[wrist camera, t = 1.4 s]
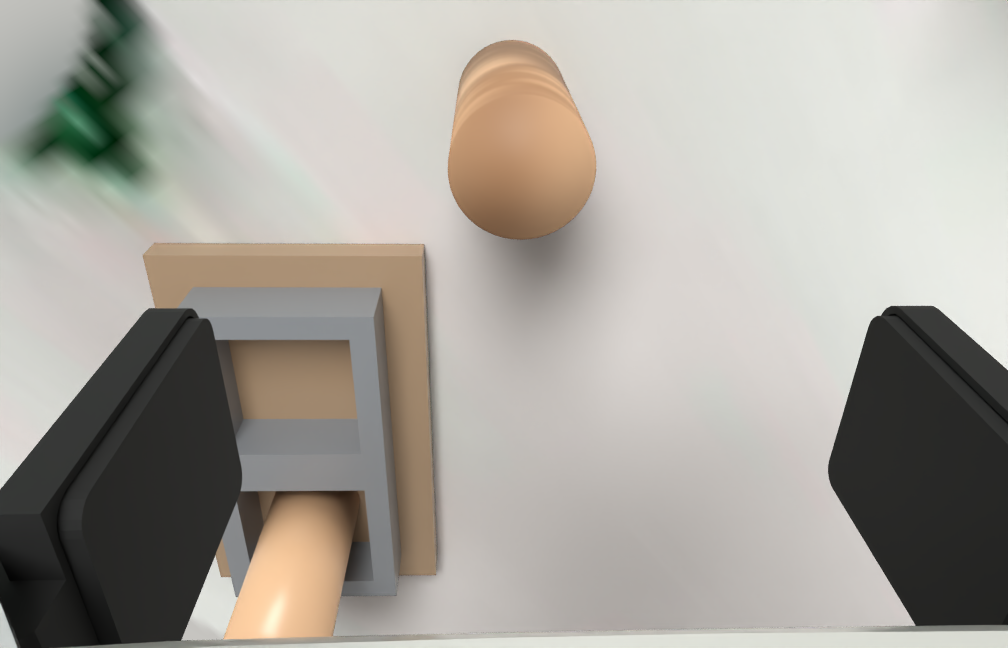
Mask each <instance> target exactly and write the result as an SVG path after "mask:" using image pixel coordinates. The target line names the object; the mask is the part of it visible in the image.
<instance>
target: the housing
mask: <svg viewBox="0 0 1008 648" xmlns="http://www.w3.org/2000/svg"><path fill="white" fill-rule="evenodd" d="M143 259H144V263H145V267H146V271H147V275H148V280H149V284H150V288H151V292H152V296H153V300H154V304H155V308H192V309H193V310H195V311H196V313H197V315H198V317H199V318H207V319H208V320H209V321H210V322H211V324H212V328H213V332H214V336H215V341H216V346H217V351H218V356H219V361H220V365H221V370H222V375H223V380H224V385H225V390H226V394H227V399H228V404H229V409H230V414H231V419H232V424H233V428H234V433H235V438H236V443H237V448H238V453H239V457H240V462H241V467H242V486H241V491H240V494H239V497H238V500H237V502H236V505H235V507H234V510H233V512H232V515H231V517H230V520H229V522H228V525H227V527H226V530H225V532H224V535H223V537H222V540H221V542H220V545H219V547H218V550H217V552H216V558H217V563H218V567H219V571H220V575H221V577H231V578H232V583H233V587H234V591H235V595H236V597H238V599H237V602H236V605H235V607H234V610H233V613H232V616H231V619H230V622H229V624H228V627H227V630H226V633H225V636H224V638H223V639H254V638H291V637H332V636H333V631H334V626H335V622H336V617H337V612H338V607H339V602H340V597H341V596H396V594H397V586H398V578H399V575H436V565H437V545H436V521H435V497H434V473H433V449H432V425H431V401H430V377H429V353H428V329H427V305H426V281H425V257H424V244H199V243H154V244H153V245H152V246H151V247H150V248H149V249H148V250H147V251H146V252H145V253H144V254H143Z"/></svg>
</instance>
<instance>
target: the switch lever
mask: <svg viewBox="0 0 1008 648" xmlns="http://www.w3.org/2000/svg"><path fill="white" fill-rule="evenodd" d="M595 175H596V157H595V151H594V147H593V143H592V141H591V139H590V136H589V134H588V132H587V130H586V127H585V125H584V123H583V121H582V119H581V117H580V114H579V112H578V110H577V108H576V106H575V103H574V101H573V99H572V97H571V95H570V93H569V90H568V88H567V86H566V84H565V82H564V80H563V77H562V75H561V73H560V71H559V69H558V67H557V65H556V64H555V62H554V61H553V60H552V59H551V57H550V56H549V55H548V54H547V53H546V52H544V51H543V50H541V49H540V48H538V47H537V46H535V45H533V44H530V43H527V42H523V41H517V40H506V41H500V42H497V43H494V44H491V45H489V46H487V47H485V48H484V49H482V50H481V51H479V52H478V53H477V54H476V55H475V56H474V57H473V58H472V59H471V60H470V61H469V63H468V64H467V66H466V67H465V69H464V71H463V73H462V76H461V79H460V83H459V88H458V95H457V102H456V109H455V116H454V123H453V131H452V138H451V145H450V152H449V159H448V178H449V183H450V188H451V191H452V193H453V196H454V198H455V200H456V202H457V204H458V206H459V207H460V209H461V210H462V211H463V213H464V214H465V215H466V216H467V217H468V218H469V219H470V220H471V221H472V222H473V223H475V224H476V225H477V226H478V227H480V228H482V229H483V230H485V231H487V232H489V233H491V234H493V235H497V236H500V237H503V238H509V239H520V240H521V239H532V238H538V237H541V236H545V235H548V234H550V233H552V232H555V231H557V230H558V229H560V228H562V227H563V226H565V225H566V224H567V223H569V222H570V221H571V220H572V219H573V218H574V217H575V216H576V215H577V214H578V213H579V212H580V210H581V209H582V208H583V206H584V205H585V203H586V201H587V200H588V198H589V196H590V193H591V191H592V188H593V185H594V181H595Z"/></svg>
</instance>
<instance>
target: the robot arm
mask: <svg viewBox="0 0 1008 648" xmlns="http://www.w3.org/2000/svg"><path fill="white" fill-rule="evenodd" d="M828 474H829V480H830V483H831V486H832V488H833V490H834V491H835V493H836V495H837V496H838V498H839V500H840V501H841V503H842V505H843V506H844V508H845V509H846V511H847V513H848V514H849V516H850V518H851V519H852V521H853V523H854V524H855V526H856V528H857V529H858V531H859V533H860V534H861V536H862V537H863V539H864V541H865V542H866V544H867V546H868V547H869V549H870V551H871V552H872V554H873V556H874V557H875V559H876V561H877V562H878V564H879V565H880V567H881V569H882V570H883V572H884V574H885V575H886V577H887V579H888V580H889V582H890V584H891V585H892V587H893V589H894V590H895V592H896V593H897V595H898V597H899V598H900V600H901V602H902V603H903V605H904V607H905V608H906V610H907V612H908V613H909V615H910V617H911V618H912V620H913V621H914V623H915V625H916V626H867V627H786V628H721V629H663V630H607V631H555V632H503V633H460V634H418V635H375V636H333V637H291V638H254V639H221V640H187V641H181V639H182V637H183V634H184V632H185V629H186V627H187V624H188V622H189V619H190V617H191V614H192V612H193V609H194V607H195V604H196V602H197V599H198V597H199V594H200V592H201V589H202V587H203V584H204V582H205V579H206V577H207V574H208V572H209V570H210V567H211V565H212V562H213V560H214V557H215V555H216V552H217V550H218V547H219V545H220V542H221V540H222V537H223V535H224V532H225V530H226V527H227V525H228V522H229V520H230V517H231V515H232V512H233V510H234V507H235V505H236V502H237V500H238V497H239V494H240V491H241V486H242V467H241V462H240V457H239V453H238V448H237V443H236V438H235V433H234V428H233V424H232V419H231V414H230V409H229V404H228V399H227V394H226V390H225V385H224V380H223V375H222V370H221V365H220V361H219V356H218V351H217V346H216V341H215V336H214V332H213V328H212V324H211V322H210V321H209V320H208V319H207V318H199V317H198V315H197V313H196V311H195V310H193V309H192V308H151V309H148V310H146V311H145V312H144V313H143V314H142V316H141V317H140V318H139V319H138V321H137V322H136V323H135V324H134V326H133V327H132V328H131V329H130V330H129V332H128V333H127V334H126V335H125V337H124V338H123V339H122V340H121V342H120V343H119V344H118V345H117V347H116V348H115V349H114V350H113V351H112V353H111V354H110V355H109V356H108V358H107V359H106V360H105V361H104V363H103V364H102V365H101V366H100V367H99V369H98V370H97V371H96V372H95V374H94V375H93V376H92V377H91V379H90V380H89V381H88V382H87V383H86V385H85V386H84V387H83V388H82V390H81V391H80V392H79V393H78V395H77V396H76V397H75V398H74V399H73V401H72V402H71V403H70V404H69V406H68V407H67V408H66V409H65V411H64V412H63V413H62V414H61V416H60V417H59V418H58V419H57V420H56V422H55V423H54V424H53V425H52V427H51V428H50V429H49V430H48V432H47V433H46V434H45V435H44V436H43V438H42V439H41V440H40V441H39V443H38V444H37V445H36V446H35V448H34V449H33V450H32V451H31V452H30V454H29V455H28V456H27V457H26V459H25V460H24V461H23V462H22V464H21V465H20V466H19V467H18V468H17V470H16V471H15V472H14V473H13V475H12V476H11V477H10V478H9V480H8V481H7V482H6V483H5V485H4V486H3V487H2V488H1V489H0V648H1008V370H1007V369H1006V368H1005V367H1003V366H1002V365H1001V364H1000V363H999V362H998V361H997V360H995V359H994V358H993V357H992V356H991V355H990V354H989V353H988V352H986V351H985V350H984V349H983V348H982V347H981V346H980V345H978V344H977V343H976V342H975V341H974V340H973V339H972V338H971V337H969V336H968V335H967V334H966V333H965V332H964V331H963V330H961V329H960V328H959V327H958V326H957V325H956V324H955V323H954V322H952V321H951V320H950V319H949V318H948V317H947V316H946V315H944V314H943V313H942V312H941V311H940V310H939V309H937V308H935V307H934V306H890V307H888V308H887V309H886V310H885V311H884V312H883V313H882V315H881V316H876V317H875V318H873V320H872V321H871V322H870V325H869V327H868V331H867V334H866V337H865V341H864V344H863V348H862V351H861V354H860V358H859V361H858V365H857V368H856V371H855V375H854V378H853V382H852V385H851V388H850V392H849V395H848V399H847V402H846V405H845V409H844V412H843V416H842V419H841V422H840V426H839V429H838V433H837V436H836V439H835V443H834V446H833V450H832V453H831V457H830V460H829V465H828Z"/></svg>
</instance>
